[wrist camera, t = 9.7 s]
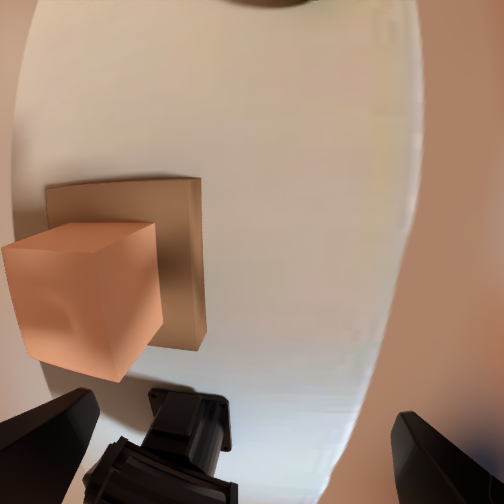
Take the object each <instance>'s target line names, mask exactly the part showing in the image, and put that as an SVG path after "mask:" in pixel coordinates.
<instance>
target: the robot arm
mask: <svg viewBox="0 0 504 504" xmlns="http://www.w3.org/2000/svg"><path fill="white" fill-rule="evenodd" d="M154 394H155V395H154ZM148 396H149V400H150V404H151V408H152V412H153V415H154V420H153V422H152V424H151V427H150V429H149V430H148V432H147V434H146V436H145V438H144V440H143V442H142V444H141V446H138V445H136V444H134V443H132V442H130V441H128V439H126V438H124V437H123V436H121V437H120V438H119V440H118V441H117V443H115V442H114V443H113V444H109V445H108V447H107V449H106V450H105V452H104V454H103V455H102V457H101V458H100V459H99V461H98V462H97V463H96V464H95V465H94V466H93V467H92V468H91V469H90V470H89V471H88V472H87V473H86V474H85V475H84V477H83V480H82V481H83V484H84V486H85V488H86V490H85V498H84V502H83V504H238V484H236V483H233V482H230V483H229V482H226V481H223V480H220V479H217V478H214V473H215V469H216V465H217V461H218V457H219V453H220V451H224V452H229V451H231V448H232V439H231V425H230V410H229V401H228V400H227V399H225V398H222V397H212V396H204V395H195V394H188V393H180V392H174V391H167V390H161V389H155V388H152V389H150V391H149V393H148ZM220 403H223V404H220ZM99 415H100V409H99V406H98V403H97V400H96V398H95V395H94V393H93V391H92V390H90V389H86V388H83V387H80V388H78V389H75V390H73V391H71V392H69V393H67V394H65V395H62V396H60V397H58V398H56V399H54V400H51V401H49V402H47V403H45V404H42V405H40V406H38V407H36V408H34V409H31V410H29V411H27V412H24V413H22V414H20V415H17V416H15V417H13V418H10V419H8V420H6V421H3V422H1V423H0V504H61V503H62V501H63V499H64V497H65V495H66V493H67V490H68V488H69V486H70V484H71V482H72V480H73V478H74V476H75V473H76V471H77V469H78V467H79V465H80V463H81V461H82V459H83V457H84V455H85V453H86V450H87V448H88V445H89V442H90V440H91V437H92V434H93V431H94V429H95V426H96V423H97V420H98V418H99ZM391 447H392V455H393V466H394V476H395V484H396V489H397V494H398V499H399V504H504V483H502V482H501V481H500V480H498V479H497V478H496V477H494V476H493V475H490V473H489V472H488V471H487V470H485V469H484V468H483V467H482V466H480V465H479V464H478V463H477V462H475V461H474V460H473V459H472V458H470V457H469V456H468V455H467V454H465V453H464V452H463V451H462V450H460V449H459V448H458V447H456V446H455V445H454V444H453V443H452V442H450V441H449V440H448V439H447V438H445V437H444V436H443V435H442V434H440V433H439V432H438V431H437V430H436V429H434V428H433V427H432V426H431V425H429V424H428V423H427V422H426V421H424V420H423V419H422V418H421V417H420V416H418V415H417V414H416V413H415V412H413V411H406V412H400V413H399V414H398V415H397V418H396V420H395V423H394V426H393V428H392V431H391Z"/></svg>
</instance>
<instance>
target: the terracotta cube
mask: <svg viewBox="0 0 504 504" xmlns="http://www.w3.org/2000/svg"><path fill="white" fill-rule="evenodd" d="M2 255H3V261H4V266H5V271H6V276H7V281H8V286H9V290H10V294H11V298H12V303H13V306H14V310H15V314H16V317H17V321H18V324H19V328H20V331H21V334H22V338H23V341H24V344H25V347H26V349H27V353H28V356H29V357H31V358H34V359H37V360H40V361H43V362H46V363H49V364H52V365H55V366H58V367H62V368H65V369H68V370H72V371H75V372H79V373H82V374H86V375H90V376H94V377H97V378H101V379H105V380H110V381H114V382H118V383H119V382H120V381H121V379H122V378H123V377H124V375H125V374H126V372H127V371H128V370H129V368H130V367H131V366H132V364H133V363H134V362H135V360H136V359H137V358H138V356H139V355H140V353H141V352H142V351H143V349H144V348H145V347H146V345H147V344H148V343H149V341H150V340H151V339H152V337H153V336H154V335H155V333H156V332H157V331H158V329H159V328H160V327H161V325H162V324H163V315H162V306H161V297H160V287H159V276H158V264H157V250H156V234H155V223H68V224H65V225H62V226H59V227H56V228H53V229H50V230H47V231H45V232H42V233H39V234H36V235H33V236H31V237H28V238H25V239H23V240H20V241H17V242H15V243H12V244H9V245H7V246H5V247H2Z"/></svg>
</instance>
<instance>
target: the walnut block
mask: <svg viewBox="0 0 504 504" xmlns="http://www.w3.org/2000/svg"><path fill="white" fill-rule="evenodd" d="M45 191H46V206H47V217H48V227H49V230H50V229H53V228H56V227H59V226H62V225H65V224H68V223H155V234H156V250H157V264H158V276H159V287H160V297H161V306H162V315H163V324H162V325H161V327H160V328H159V329H158V331H157V332H156V333H155V335H154V336H153V337H152V339H151V340H150V341H149V343H148V344H147V345H150V346H158V347H165V348H173V349H181V350H190V351H198V349H199V347H200V345H201V343H202V341H203V338H204V336H205V334H206V332H207V325H206V309H205V290H204V268H203V242H202V203H201V178H182V179H155V180H135V181H119V182H105V183H92V184H81V185H70V186H63V187H57V188H51V189H46V190H45Z"/></svg>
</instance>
